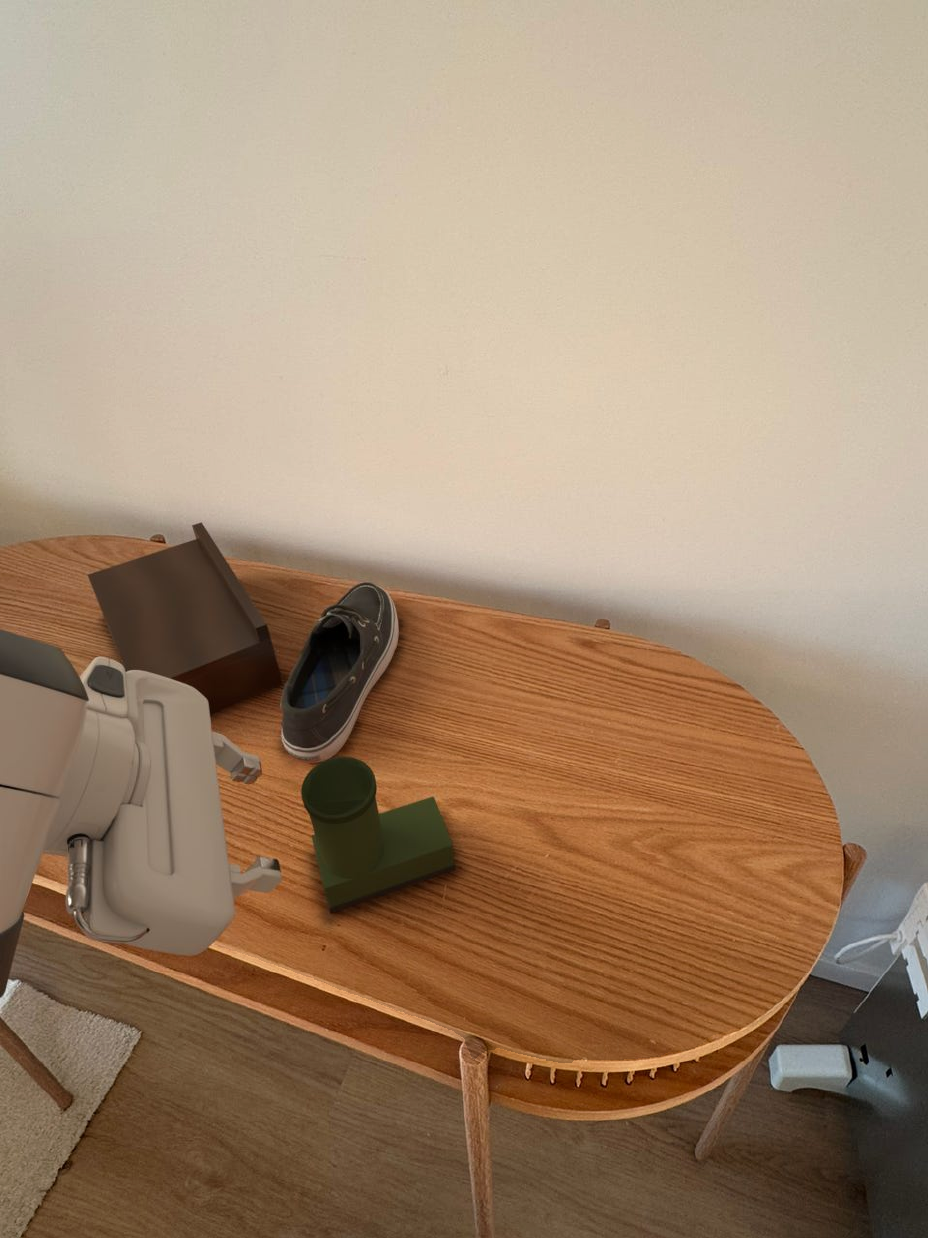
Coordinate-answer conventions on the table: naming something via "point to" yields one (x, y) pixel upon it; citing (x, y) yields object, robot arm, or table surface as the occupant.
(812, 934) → the table surface
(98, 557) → the table surface
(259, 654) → the shoe bench
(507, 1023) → the table surface
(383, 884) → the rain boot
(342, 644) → the boat shoe
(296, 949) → the table surface
